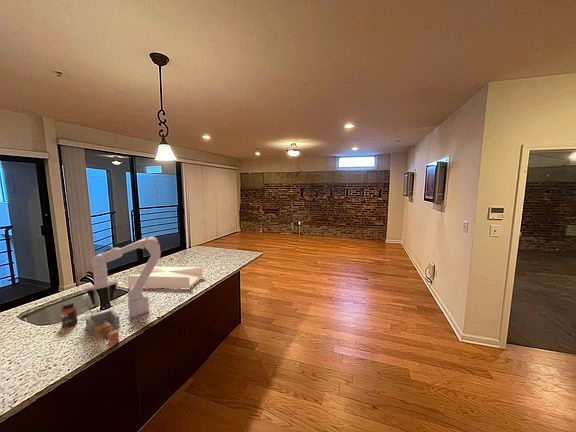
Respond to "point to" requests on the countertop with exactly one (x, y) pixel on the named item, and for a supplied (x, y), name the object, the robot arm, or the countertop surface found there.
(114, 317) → the slate lane
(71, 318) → the supplement bottle
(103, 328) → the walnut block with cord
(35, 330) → the countertop surface
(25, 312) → the countertop surface
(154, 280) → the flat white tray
